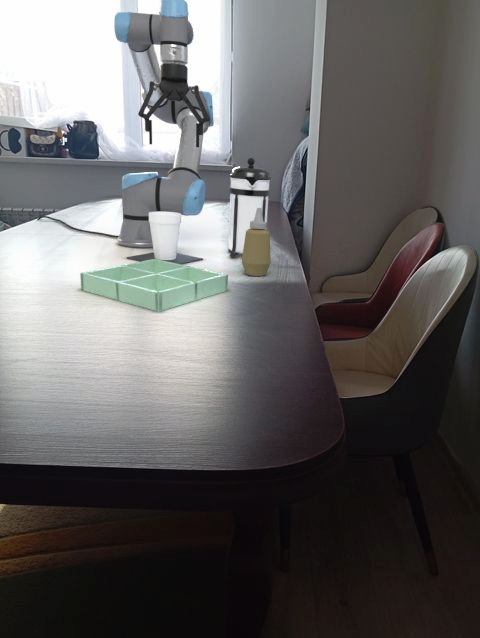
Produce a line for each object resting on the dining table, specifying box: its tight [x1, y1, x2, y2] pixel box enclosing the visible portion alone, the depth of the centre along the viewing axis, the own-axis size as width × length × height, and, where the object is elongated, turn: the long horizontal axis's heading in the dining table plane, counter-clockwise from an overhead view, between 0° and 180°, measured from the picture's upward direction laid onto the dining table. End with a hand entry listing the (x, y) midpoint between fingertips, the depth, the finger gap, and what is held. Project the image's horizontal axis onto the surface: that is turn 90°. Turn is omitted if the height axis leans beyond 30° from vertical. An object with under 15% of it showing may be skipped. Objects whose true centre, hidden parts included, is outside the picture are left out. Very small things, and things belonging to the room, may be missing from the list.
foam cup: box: [149, 211, 182, 260], centre depth 152 cm, size 10×9×13 cm
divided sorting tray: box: [79, 259, 229, 313], centre depth 121 cm, size 24×24×4 cm
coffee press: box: [227, 157, 272, 259], centre depth 164 cm, size 17×16×30 cm
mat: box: [126, 251, 204, 265], centre depth 155 cm, size 16×16×1 cm
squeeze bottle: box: [241, 208, 272, 277], centre depth 140 cm, size 8×8×18 cm
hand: (174, 145), depth 152 cm, fingers open, 13 cm apart
